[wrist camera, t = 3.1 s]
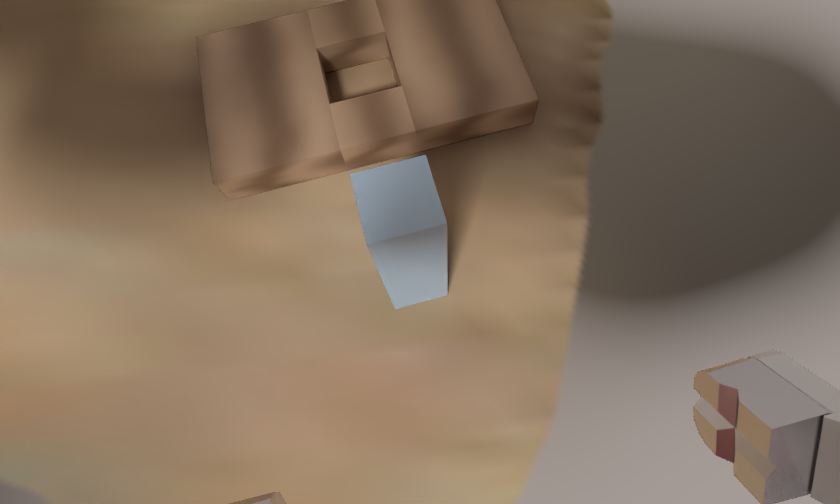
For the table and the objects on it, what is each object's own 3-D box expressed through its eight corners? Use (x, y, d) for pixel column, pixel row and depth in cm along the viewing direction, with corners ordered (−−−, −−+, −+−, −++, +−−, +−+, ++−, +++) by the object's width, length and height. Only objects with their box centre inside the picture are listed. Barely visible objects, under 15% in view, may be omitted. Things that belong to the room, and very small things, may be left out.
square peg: (395, 309, 35) (366, 244, 23) (382, 260, 36) (349, 174, 24) (447, 295, 35) (447, 223, 23) (433, 246, 36) (425, 154, 24)
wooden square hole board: (229, 200, 39) (212, 182, 36) (211, 62, 44) (195, 37, 41) (532, 122, 40) (539, 99, 37) (479, -4, 45) (481, -33, 42)
